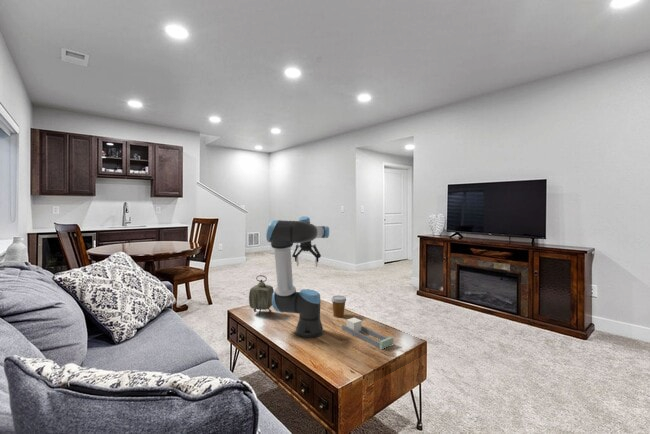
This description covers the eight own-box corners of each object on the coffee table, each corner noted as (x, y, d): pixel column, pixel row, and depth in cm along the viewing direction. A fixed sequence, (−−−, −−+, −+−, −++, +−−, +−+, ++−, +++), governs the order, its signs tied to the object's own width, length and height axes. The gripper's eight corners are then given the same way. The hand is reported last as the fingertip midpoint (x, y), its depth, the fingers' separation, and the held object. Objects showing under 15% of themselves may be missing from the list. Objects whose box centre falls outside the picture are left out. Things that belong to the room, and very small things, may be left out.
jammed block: (353, 333, 175) (353, 323, 175) (346, 329, 180) (346, 319, 180) (361, 330, 179) (361, 320, 179) (354, 327, 184) (354, 317, 184)
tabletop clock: (273, 311, 207) (274, 274, 206) (269, 316, 198) (269, 277, 197) (252, 310, 209) (253, 273, 208) (247, 315, 200) (247, 276, 199)
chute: (381, 349, 157) (382, 342, 157) (341, 329, 181) (342, 322, 181) (393, 345, 163) (393, 337, 162) (352, 325, 187) (353, 319, 186)
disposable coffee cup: (335, 312, 209) (336, 294, 209) (348, 314, 204) (348, 296, 204) (328, 316, 201) (328, 298, 200) (341, 319, 196) (342, 300, 196)
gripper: (324, 236, 218) (325, 263, 225) (289, 235, 221) (291, 262, 229) (322, 241, 211) (323, 268, 218) (286, 240, 214) (288, 267, 222)
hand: (307, 265), depth 223 cm, fingers open, 13 cm apart
